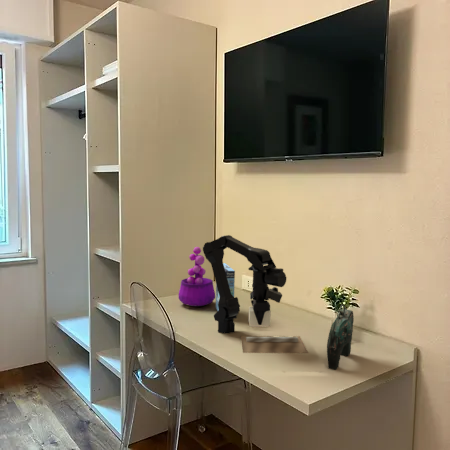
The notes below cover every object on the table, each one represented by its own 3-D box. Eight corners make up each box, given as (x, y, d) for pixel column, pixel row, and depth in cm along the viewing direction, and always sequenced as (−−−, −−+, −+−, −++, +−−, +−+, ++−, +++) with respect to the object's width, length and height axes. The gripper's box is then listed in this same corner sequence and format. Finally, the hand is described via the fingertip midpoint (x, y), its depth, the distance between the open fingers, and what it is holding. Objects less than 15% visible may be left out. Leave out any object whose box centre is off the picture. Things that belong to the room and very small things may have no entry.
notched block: (249, 326, 177) (249, 311, 176) (248, 321, 183) (248, 306, 182) (270, 326, 177) (270, 311, 176) (268, 321, 183) (269, 307, 182)
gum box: (215, 308, 230) (215, 263, 228) (225, 308, 231) (225, 262, 229) (223, 320, 211) (224, 270, 209) (234, 319, 212) (235, 270, 210)
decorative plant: (222, 304, 238) (223, 246, 235) (197, 312, 224) (198, 250, 221) (196, 298, 250) (196, 243, 247) (170, 304, 236) (170, 246, 233)
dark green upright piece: (339, 350, 175) (341, 298, 173) (356, 353, 172) (358, 300, 170) (322, 368, 158) (324, 311, 156) (341, 372, 155) (343, 314, 153)
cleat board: (242, 355, 168) (243, 348, 168) (240, 338, 186) (240, 332, 186) (308, 356, 169) (308, 348, 169) (299, 339, 187) (300, 332, 186)
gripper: (284, 288, 169) (283, 330, 171) (277, 277, 188) (276, 315, 189) (254, 288, 169) (253, 329, 170) (250, 277, 187) (249, 315, 189)
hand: (259, 322), depth 180 cm, fingers closed on notched block, 6 cm apart
